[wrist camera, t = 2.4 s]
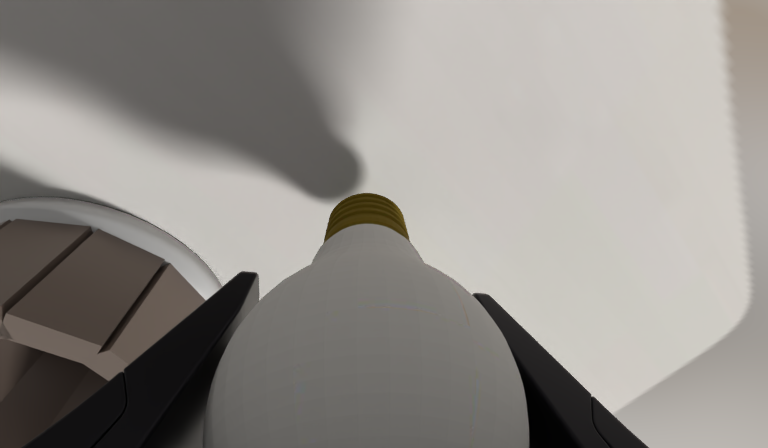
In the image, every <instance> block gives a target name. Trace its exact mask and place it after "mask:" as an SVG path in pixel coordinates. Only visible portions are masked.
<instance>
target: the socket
mask: <svg viewBox="0 0 768 448" xmlns="http://www.w3.org/2000/svg"><path fill="white" fill-rule="evenodd" d="M220 288H222V286H221V284H220V282H219V280H218V279H217V277H216V276H215V275H214V273H213V272H212V271H211V270H210V268H209V267H208V266H207V265H206V264H205V263H204V262H203V261H202V260H201V259H200V258H199V257H198V256H197V255H196V254H195V253H194V252H192V251H191V250H190V249H189V248H187V247H186V246H185V245H184V244H182V243H181V242H179V241H178V240H176V239H175V238H174V237H172V236H171V235H169V234H168V233H166V232H164V231H162V230H160V229H159V228H157V227H155V226H153V225H151V224H150V223H147V222H145V221H143V220H141V219H138V218H136V217H134V216H132V215H129V214H127V213H124V212H121V211H118V210H115V209H112V208H109V207H106V206H102V205H98V204H94V203H90V202H86V201H79V200H73V199H67V198H54V197H28V198H19V199H13V200H7V201H3V202H0V448H21V447H22V446H24V445H25V444H27V443H28V442H29V441H31V440H32V439H34V438H35V437H36V436H38V435H39V434H41V433H42V432H43V431H45V430H46V429H47V428H49V427H50V426H51V425H53V424H54V423H56V422H57V421H58V420H60V419H61V418H62V417H64V416H65V415H66V414H68V413H69V412H70V411H72V410H73V409H74V408H76V407H77V406H78V405H80V404H81V403H82V402H83V401H85V400H86V399H87V398H88V397H90V396H91V395H92V394H93V393H95V392H96V391H97V390H98V389H100V388H101V387H102V386H103V385H105V384H106V383H107V382H108V381H109V380H111V379H112V378H113V377H114V376H116V375H117V374H118V373H119V372H123V373H124V371H123V370H124V368H125V367H127V366H128V365H129V364H130V363H131V362H133V361H134V360H135V359H136V358H137V357H139V356H140V355H141V354H142V353H143V352H145V351H146V350H147V349H148V348H149V347H151V346H152V345H153V344H154V343H155V342H157V341H158V340H159V339H160V338H161V337H163V336H164V335H165V334H166V333H167V332H169V331H170V330H171V329H172V328H174V327H175V326H176V325H177V324H178V323H180V322H181V321H182V320H183V319H184V318H186V317H187V316H188V315H189V314H190V313H192V312H193V311H194V310H195V309H196V308H198V307H199V306H200V305H201V304H202V303H204V302H205V301H206V300H207V299H208V298H210V297H211V296H212V295H213V294H214V293H216V292H217V291H218V290H219V289H220Z"/></svg>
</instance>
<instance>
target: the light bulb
mask: <svg viewBox="0 0 768 448" xmlns="http://www.w3.org/2000/svg"><path fill="white" fill-rule="evenodd" d="M203 448H529V423H528V413H527V403H526V397H525V392H524V387H523V383H522V379H521V376H520V373H519V370H518V367H517V365H516V362H515V360H514V357H513V355H512V353H511V350H510V348H509V346H508V344H507V341H506V339H505V338H504V336H503V334H502V332H501V331H500V329H499V328H498V326H497V325H496V323H495V322H494V320H493V319H492V318H491V316H490V315H489V314H488V312H487V311H486V310H485V308H484V307H483V306H482V305H481V304H480V302H479V301H478V300H477V299H476V298H475V297H474V296H472V295H471V294H470V293H469V292H468V291H467V290H466V289H465V288H463V287H462V286H461V285H460V284H459V283H457V282H456V281H455V280H453V279H452V278H450V277H449V276H447V275H446V274H444V273H442V272H441V271H439V270H437V269H435V268H433V267H431V266H429V265H427V264H425V263H424V262H423V260H422V258H421V257H420V255H419V253H418V252H417V250H416V249H415V248H414V246H413V245H412V244H411V243H410V241H409V236H408V233H407V229H406V225H405V222H404V218H403V215H402V213H401V211H400V209H399V208H398V207H397V205H396V204H394V203H393V202H392V201H391V200H389V199H388V198H386V197H383V196H381V195H377V194H372V193H362V194H356V195H352V196H350V197H348V198H346V199H344V200H342V201H341V202H340V203H339V204H338V205H337V206H336V207H335V208H334V209H333V211H332V213H331V215H330V218H329V222H328V227H327V230H326V235H325V239H324V243H323V245H322V246H321V247H320V249H319V251H318V252H317V254H316V256H315V258H314V259H313V262H312V264H311V265H309V266H307V267H305V268H303V269H302V270H300V271H298V272H296V273H295V274H293V275H291V276H290V277H288V278H286V279H285V280H283V281H282V282H281V283H280V284H278V285H277V286H276V287H275V288H273V289H272V290H271V291H270V292H269V293H267V294H266V295H265V296H264V297H263V298H262V299H261V300H260V301H259V302H258V303H257V304H256V305H255V306H254V308H253V309H252V310H251V311H250V313H249V314H248V315H247V316H246V317H245V319H244V320H243V321H242V322H241V324H240V325H239V326H238V328H237V330H236V331H235V333H234V334H233V336H232V338H231V340H230V341H229V343H228V345H227V347H226V349H225V351H224V354H223V356H222V358H221V360H220V362H219V364H218V367H217V369H216V372H215V375H214V378H213V381H212V384H211V388H210V392H209V396H208V401H207V407H206V414H205V420H204V428H203Z"/></svg>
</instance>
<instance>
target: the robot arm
mask: <svg viewBox="0 0 768 448" xmlns="http://www.w3.org/2000/svg"><path fill="white" fill-rule="evenodd" d="M472 296H474V297H475V298H476V299H477V300H478V301H479V302H480V304H481V305H482V306H483V307H484V308H485V310H486V311H487V312H488V314H489V315H490V316H491V318H492V319H493V320H494V322H495V323H496V325H497V326H498V328H499V329H500V331H501V332H502V334H503V336H504V338H505V339H506V341H507V344H508V346H509V348H510V350H511V353H512V355H513V357H514V360H515V362H516V365H517V367H518V370H519V373H520V376H521V379H522V383H523V387H524V392H525V397H526V403H527V413H528V423H529V448H648V446H646V445H645V444H644V443H643V442H642V441H641V440H640V439H638V438H637V437H636V436H635V435H634V434H633V433H632V432H631V431H629V430H628V429H627V428H626V427H625V426H624V425H623V424H622V423H621V422H620V421H619V420H618V419H617V418H615V417H614V416H613V415H612V414H611V413H610V412H609V411H608V410H607V409H606V408H605V407H604V406H603V405H602V404H601V403H600V402H599V401H598V400H597V399H596V398H595V397H591V394H590V393H589V392H588V391H587V390H586V389H585V388H584V387H583V386H582V385H581V384H580V383H579V382H578V381H577V380H576V379H575V378H574V377H573V376H572V375H571V374H570V373H569V372H568V371H567V370H566V369H565V368H564V367H563V366H562V365H561V364H560V363H559V362H557V361H556V360H555V359H554V358H553V357H552V356H551V355H550V354H549V353H548V352H547V351H546V350H545V349H544V348H543V347H542V346H541V345H540V344H539V343H538V342H537V341H536V340H535V339H534V338H533V337H532V336H531V335H530V334H529V333H528V332H527V331H526V330H525V329H524V328H522V327H521V326H520V325H519V324H518V323H517V322H516V321H515V320H514V319H513V318H512V317H511V316H510V315H509V314H508V313H507V312H506V311H505V310H504V309H503V308H502V307H501V306H500V305H499V304H498V303H497V302H496V301H495V300H494V299H493V298H492V297H491V296H489V295H488V294H482V293H474V294H473V295H472ZM258 302H259V276H258V274H257V273H255V272H245V271H242V272H240V273H239V274H237V275H236V276H235V277H234V278H232V279H231V280H230V281H229V282H228V283H226V284H225V285H224V286H223V287H222V288H220V289H219V290H218V291H217V292H216V293H214V294H213V295H212V296H211V297H210V298H208V299H207V300H206V301H205V302H204V303H202V304H201V305H200V306H199V307H198V308H196V309H195V310H194V311H193V312H192V313H190V314H189V315H188V316H187V317H186V318H184V319H183V320H182V321H181V322H180V323H178V324H177V325H176V326H175V327H174V328H172V329H171V330H170V331H169V332H167V333H166V334H165V335H164V336H163V337H161V338H160V339H159V340H158V341H157V342H155V343H154V344H153V345H152V346H151V347H149V348H148V349H147V350H146V351H145V352H143V353H142V354H141V355H140V356H139V357H137V358H136V359H135V360H134V361H133V362H131V363H130V364H129V365H128V366H127V367H125V368H124V370H123V371H124V373H123V372H119V373H118V374H117V375H116V376H114V377H113V378H112V379H111V380H109V381H108V382H107V383H106V384H105V385H103V386H102V387H101V388H100V389H98V390H97V391H96V392H95V393H93V394H92V395H91V396H90V397H88V398H87V399H86V400H85V401H83V402H82V403H81V404H80V405H78V406H77V407H76V408H74V409H73V410H72V411H70V412H69V413H68V414H66V415H65V416H64V417H62V418H61V419H60V420H58V421H57V422H56V423H54V424H53V425H51V426H50V427H49V428H47V429H46V430H45V431H43V432H42V433H41V434H39V435H38V436H36V437H35V438H34V439H32V440H31V441H29V442H28V443H27V444H25V445H24V446H22V447H21V448H203V428H204V420H205V414H206V407H207V401H208V396H209V392H210V388H211V384H212V381H213V378H214V375H215V372H216V369H217V367H218V364H219V362H220V360H221V358H222V356H223V354H224V351H225V349H226V347H227V345H228V343H229V341H230V340H231V338H232V336H233V334H234V333H235V331H236V330H237V328H238V326H239V325H240V324H241V322H242V321H243V320H244V319H245V317H246V316H247V315H248V314H249V313H250V311H251V310H252V309H253V308H254V306H255V305H256V304H257V303H258Z"/></svg>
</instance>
